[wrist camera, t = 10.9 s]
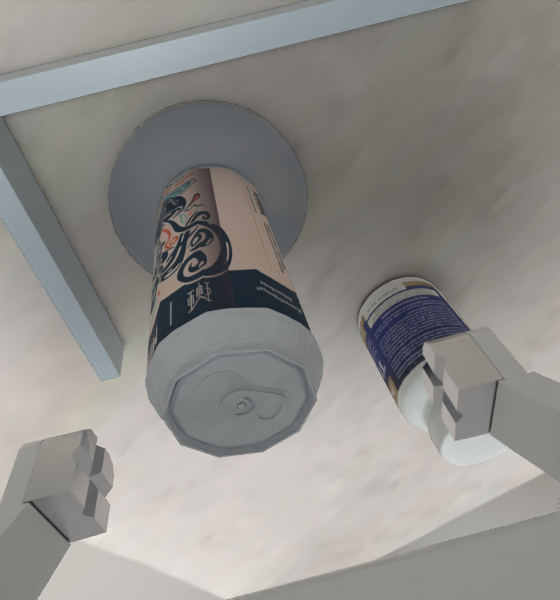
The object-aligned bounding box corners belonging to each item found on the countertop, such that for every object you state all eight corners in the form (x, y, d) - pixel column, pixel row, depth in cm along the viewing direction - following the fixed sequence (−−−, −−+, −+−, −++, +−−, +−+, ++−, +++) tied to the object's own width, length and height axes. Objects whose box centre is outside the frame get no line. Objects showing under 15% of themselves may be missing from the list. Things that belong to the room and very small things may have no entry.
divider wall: (478, -42, 18) (515, -44, 16) (461, 253, 27) (485, 276, 25) (-123, 105, 17) (-161, 121, 15) (54, 364, 26) (44, 397, 24)
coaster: (284, 76, 20) (289, 81, 19) (314, 255, 25) (319, 264, 24) (76, 128, 19) (71, 135, 18) (151, 298, 25) (151, 309, 24)
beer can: (171, 146, 19) (170, 316, 10) (276, 179, 21) (363, 351, 11) (146, 244, 22) (126, 460, 12) (242, 267, 23) (292, 472, 14)
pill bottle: (337, 321, 28) (401, 455, 20) (403, 257, 26) (501, 378, 18) (392, 356, 31) (468, 488, 23) (455, 301, 29) (560, 423, 21)
